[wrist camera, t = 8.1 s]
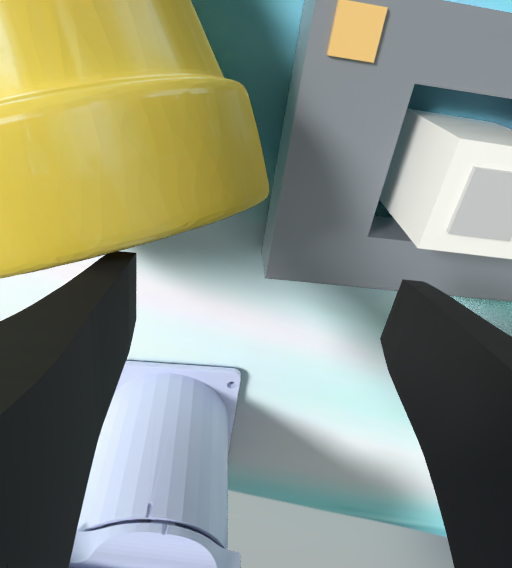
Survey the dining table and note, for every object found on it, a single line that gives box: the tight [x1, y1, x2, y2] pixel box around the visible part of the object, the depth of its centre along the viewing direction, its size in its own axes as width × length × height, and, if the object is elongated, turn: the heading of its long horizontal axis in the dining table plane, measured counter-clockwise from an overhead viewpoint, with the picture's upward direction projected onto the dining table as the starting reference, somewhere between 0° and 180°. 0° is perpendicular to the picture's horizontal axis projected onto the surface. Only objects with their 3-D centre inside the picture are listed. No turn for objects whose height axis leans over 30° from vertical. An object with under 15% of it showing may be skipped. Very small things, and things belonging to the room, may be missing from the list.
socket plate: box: [261, 0, 512, 302], centre depth 18 cm, size 11×14×3 cm
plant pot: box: [0, 0, 269, 278], centre depth 13 cm, size 10×10×10 cm
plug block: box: [379, 108, 512, 259], centre depth 18 cm, size 4×4×5 cm
